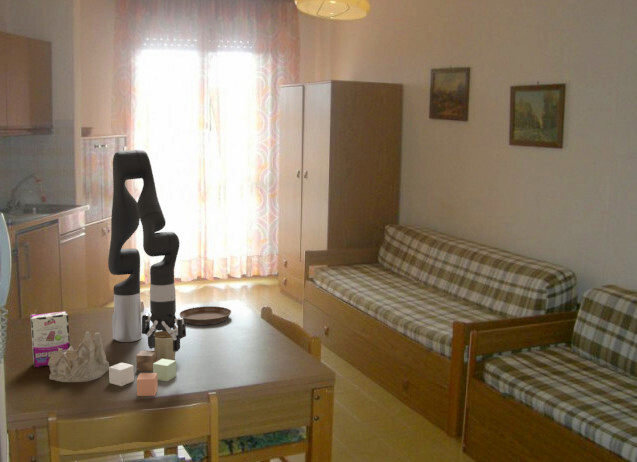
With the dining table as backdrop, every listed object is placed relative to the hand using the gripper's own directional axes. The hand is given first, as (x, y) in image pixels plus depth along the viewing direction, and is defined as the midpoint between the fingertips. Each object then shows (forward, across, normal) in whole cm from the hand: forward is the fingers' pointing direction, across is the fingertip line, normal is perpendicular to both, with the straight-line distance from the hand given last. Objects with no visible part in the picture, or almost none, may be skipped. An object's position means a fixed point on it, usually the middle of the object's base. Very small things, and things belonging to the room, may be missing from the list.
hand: (164, 349), depth 202 cm
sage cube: (+9, 0, 0) cm, 9 cm away
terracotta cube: (+9, +2, -12) cm, 15 cm away
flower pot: (+9, -9, +14) cm, 19 cm away
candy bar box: (+9, -41, -3) cm, 42 cm away
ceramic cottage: (+9, -27, -6) cm, 29 cm away
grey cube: (+9, -10, -8) cm, 16 cm away
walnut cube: (+9, -10, +5) cm, 15 cm away
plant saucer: (+9, -21, +61) cm, 65 cm away
